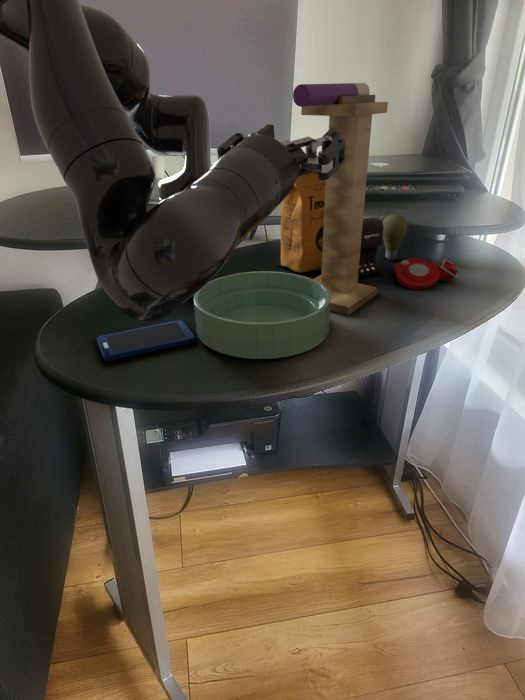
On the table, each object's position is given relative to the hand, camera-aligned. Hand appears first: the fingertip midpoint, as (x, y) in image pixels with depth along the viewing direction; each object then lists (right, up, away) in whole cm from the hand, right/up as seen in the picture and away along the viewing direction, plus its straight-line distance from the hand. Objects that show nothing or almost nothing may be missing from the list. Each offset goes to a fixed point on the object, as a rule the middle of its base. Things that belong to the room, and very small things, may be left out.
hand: (302, 134), depth 61 cm
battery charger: (+16, -12, +38) cm, 43 cm away
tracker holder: (+27, -14, +34) cm, 46 cm away
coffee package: (+6, -10, +43) cm, 44 cm away
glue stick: (+5, +9, +9) cm, 14 cm away
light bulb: (+23, -7, +46) cm, 52 cm away
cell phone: (-23, -26, +13) cm, 37 cm away
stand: (+8, -18, +28) cm, 34 cm away
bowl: (-5, -24, +17) cm, 30 cm away
